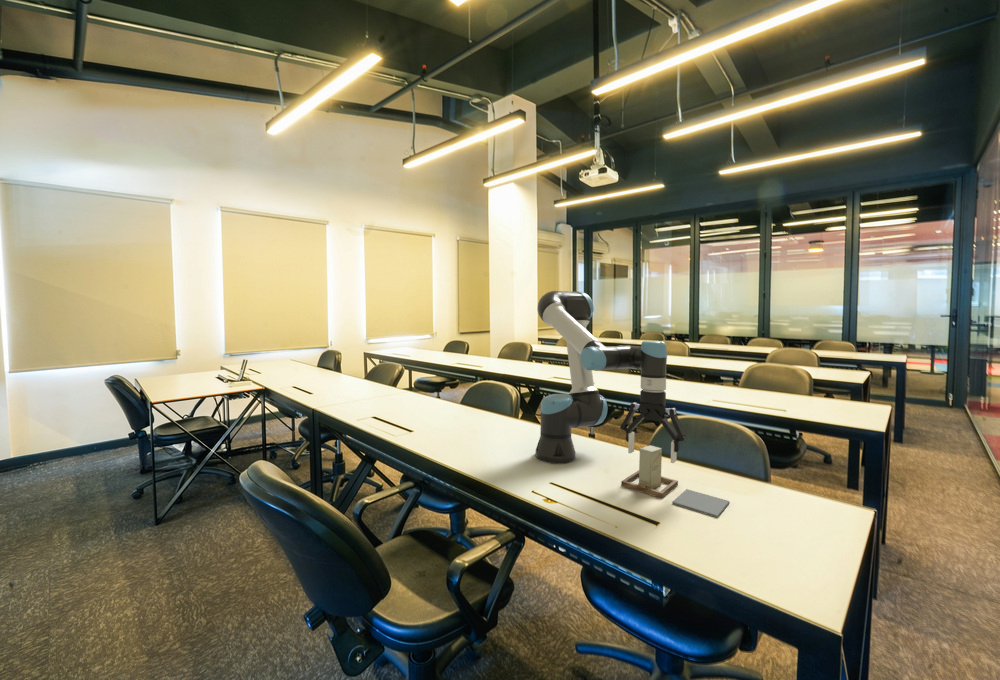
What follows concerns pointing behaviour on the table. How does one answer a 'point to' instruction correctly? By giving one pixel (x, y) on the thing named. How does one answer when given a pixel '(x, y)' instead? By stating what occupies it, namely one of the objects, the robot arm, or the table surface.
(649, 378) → the robot arm
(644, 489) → the collar
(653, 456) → the skincare box
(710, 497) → the mat
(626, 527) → the table surface
